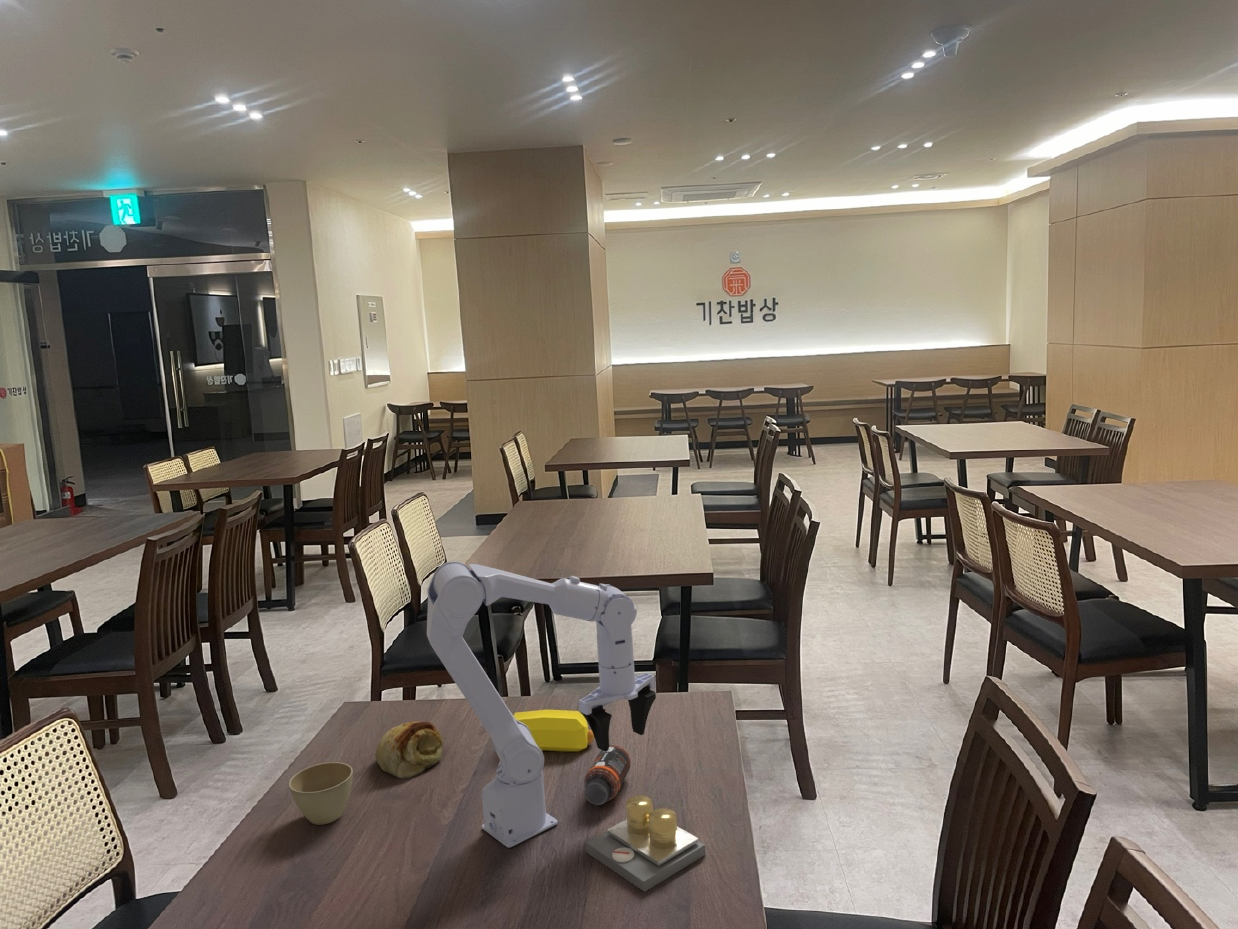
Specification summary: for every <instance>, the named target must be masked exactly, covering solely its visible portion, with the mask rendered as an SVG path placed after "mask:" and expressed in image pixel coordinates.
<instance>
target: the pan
mask: <svg viewBox="0 0 1238 929" xmlns="http://www.w3.org/2000/svg"><path fill="white" fill-rule="evenodd" d="M606 832H607V833H608V834H609V835H611V836H612V837H614V838H616V839H617V840H619V841H620V842H622V843H623V844H625V845H627V846H628V847H630V848H631V849H633V850H634V851H636V852H637V853H639V854H641V855H642V856H644V857H645V858H647V859H648V860H650V861H652V862H653V863H655V864H656V865H658V866H659V865H661V864H663V863H664V862H666V861H668V860H669V859H671V858H673V857H674V856H676V855H678V854H679V853H681V852H683V851H685V850H686V849H688V848H690V847H691V846H693V845H695V844H696V843H698V842H700V840H699V838H698V837H697V836H695V835H693V834H692V833H690V832H688V831H687V830H684V829H683V828H681V827H680V826H678V825H677V844H676V845H675V846H674V847H672V848H669V849H658V848H655V847H654V846H652V845H651V843H650V832H649V833H647V834H643V835H636V834H633V833H631V832H629V831H628V828H627V818H626V819H624V820H623V821H620V822H618V823H617V824H615V825H612V826H611V827H609V828H607V829H606Z"/></svg>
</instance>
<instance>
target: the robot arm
mask: <svg viewBox="0 0 1238 929" xmlns="http://www.w3.org/2000/svg"><path fill="white" fill-rule="evenodd" d="M468 566H469V567H470V568H469V567H468ZM468 566H467V565H466V564H465V563H464V562H460V561H455V560H453V561H452V560H451V561H447V562H444V563H442V564H441V565H439V566H438V568H437V569H436V570H435V571H434V572H433V576H432V578H431V579H430V582H429V585H428V587H427V591H426V592H427V614H426V616H427V617H426V637H427V639H428V641H429V642H428V643H429V644H430V646H431V647H432V649H433V651H434V652H435V654H436V656H437V657H438V658H439V660H440V661H441V663H442V664H443V666H444V667H445V669H446V671H447V672H448V674H449V676H450V677H451V678H452V680H453V682H454V683H455V684H456V686H457V688H458V689H459V691H460V692H461V693H462V695H463V697H464V698H465V700H466V701H467V703H468V704H469V706H470V708H471V709H472V711H473V712H474V714H475V716H476V717H477V718H478V720H479V721H480V723H481V725H482V726H483V728H484V729H485V730H486V732H487V733H488V735H489V737H490V739H491V740H492V746H493V747H492V748H493V749H494V752H495V753H496V754H497V757H498V758H499V762H498V765H497V768H496V771H495V772H496V773H495V774H496V775H495V776H494V778H493V779H492V780H491V781H490V782H488V783H487V784H485V785H484V786H483V787H482V789H481V803H482V804H481V805H482V806H481V807H482V816H483V824H482V825H481V829H483V830H484V831H485V832H487V833H488V834H489V836H492V837H493V838H494V839H496V840H497V841H498V842H499V843H501V844H502V845H503V846H505V847H506V848H509V849H510V848H512V847H515V846H516V845H518V844H520V843H522V842H525V841H527V840H528V839H530V838H533V837H534V836H536V835H538V834H540V833H542V832H544V831H547V830H548V829H550V828H552V827H554V826H556V825H557V824H559V822H558V820H557V819H556V818H555V817H554V816H552V815H550V814H549V813H548V812H547V809H546V798H545V795H546V794H545V784H544V783H545V782H544V771H543V768H544V765H545V755H544V753H543V751H541V749H540V748H539V747H538V746H537V744H536V742H535V741H534V739H533V737H532V735H531V733H530V730H529V728H528V727H527V726H526V725H525V724H524V723H522V722H520V721H518V720H517V719H515V717H514V716H513V715H514V714H513V712H511V710H510V709H509V707H508V705H506V703H505V701H504V700H503V698H502V696H501V695H500V693H499V691H497V689H496V688H495V686H494V684H493V682H492V681H491V679H490V678H489V676H488V675H487V673H486V671H485V670H484V668H483V666H482V665H481V663H480V662H479V660H478V659H477V657H476V656H475V655H474V653H473V651H472V649H471V648H470V646H469V645H468V643H467V642H466V640H465V639H464V637H463V636H464V634H465V631H466V627H467V626H468V624H469V622H470V621H471V619H472V618H473V617H474V615H475V614H476V613H477V612H478V611H479V609H480V607H481V606H482V604H484V605H485V606H486V607H488V606H490V605H492V604H493V603H495V602H496V601H498V600H499V599H501V598H507V599H514V600H520V601H524V602H531V603H539V604H544V605H548V606H549V608H550V609H551V611H552V613H553V614H555V615H558V616H563V617H566V618H572V619H578V620H582V621H587V622H596V623H595V624H596V646H597V660H598V661H597V662H598V677H599V686H598V687H597V688H595V689H594V690H593V691H591V692H590V693H589V694H588V695H586V696H585V697H583V698H580V699H578V708H579V710H578V711H579V712H580V713H581V714H582V715H583V716H584V717H585V719H586V720H587V724H588V727H590V730H591V731H592V732H593V735H594V740H595V743H596V746H597V747H596V748H597V749H599V750H600V751H601V750H602V751H604V752H606V751H608V750H609V746H610V733H609V732H610V724H611V721H612V720H611V719H612V714H611V713H608V712H607V711H606V709H605V708H604V706H607V705H609V704H612V703H614V702H618V701H623V700H627V701H628V706H629V710H630V718H631V719H630V722H631V728H632V732H633V733H635V734H637V735H640V736H643V735H645V731H646V725H647V721H648V716H649V714H650V711H651V708H652V706H653V704H654V702H655V700H656V698H657V697H656V696H657V695H656V691H654V690H652V689H653V688H655V687H656V678H655V677H656V676H655V675H653V674H651V673H649V672H645V673H642V674H639V675H635V661H634V660H635V658H634V657H635V656H634V640H633V631H632V628H633V627H632V624H633V623H634V621H635V620H636V617H637V612H638V610H637V608H635V605H634V602H633V601H632V599H631V598H630V597H629V596H628V595H626V594H625V593H624V592H622V590H620V589H619V588H617V587H615V586H613V585H611V584H605V583H599V584H598V585H597V584H592V583H587V582H582V581H581V578H579V577H578V576H575V575H570V576H569V578H564V577H561V578H559V579H557V580H556V581H554V582H551V583H550V582H547V581H544V580H540V579H536V578H532V577H528V576H524V575H522V574H521V575H520V574H516V573H515V572H514V573H513V572H510V571H506V570H502V569H498V568H494V567H491V566H490V567H489V566H487V565H482V564H477V563H468Z"/></svg>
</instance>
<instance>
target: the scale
mask: <svg viewBox="0 0 1238 929" xmlns="http://www.w3.org/2000/svg"><path fill="white" fill-rule="evenodd" d="M585 846H586V853H587V854H588V855H590V856H591V857H592V858H594V859H596V860H597V861H598V860H599V861H598V862H600V863H601V864H603V865H604V866H606V865H607V866H608V867H607V866H606V867H607V868H609V869H610V868H611V869H610V870H612V871H613V872H615V871H616V872H617V873H618V874H617V873H616V872H615V873H616V874H617V875H619V876H620V877H622V878H623V877H624V878H623V879H625V880H626V879H627V880H626V881H627V882H629V883H631V884H632V883H633V884H634V885H633V884H632V885H633V886H634V887H637V888H638V889H639V888H640V889H639V890H641V889H642V890H643V892H644V893H645V891H646V892H647V891H649V890H651V889H652V888H654V887H655V886H657V885H659V884H660V883H662V882H664V881H666V880H667V879H668V878H670V877H672V876H673V875H674V874H676V873H678V872H679V871H681V870H683V869H685V868H686V867H688V866H689V865H691V864H693V863H695V862H696V861H698V860H699V859H702V858H703V857H704V856H706V844H705V843H702V842H701V841H699V842H698V843H696V844H695V845H693V846H691V847H690V848H688V849H686V850H685V851H683V852H681V853H679V854H678V855H676V856H674V857H673V858H671V859H669V860H668V861H666V862H664V863H663V864H661V865H659V866H658V865H656V864H655V863H653V862H652V861H650V860H648V859H647V858H645V857H644V856H642V855H641V854H639V853H637V852H636V851H634V850H633V849H631V848H630V847H628V846H627V845H625V844H623V843H622V842H620V841H619V840H617V839H616V838H614V837H612V836H611V835H609V834H608V833H607V831H605V832H603V833H601V834H599V835H597V836H595V837H594V838H592V839H590V840H588V841H586V842H585ZM648 889H649V890H648ZM642 890H641V891H642Z"/></svg>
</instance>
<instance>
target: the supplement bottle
mask: <svg viewBox="0 0 1238 929" xmlns="http://www.w3.org/2000/svg"><path fill="white" fill-rule="evenodd" d="M631 764H632V763H631V758H630V755H629V754H628V752H627V751H626V750H625V749H624V748H623V747H620V746H618V745H615V744H613V745H611V744H609V750H608V751H606V752H604V751H602V750H601V749H600V751H599V752H598V754H597V756H596V757H595V760H593V763H592V764H591V765H590V768H589V769H588V771H587V773H586V775H584V776H585V777H584V781H583V782H584V783H583V785H584V796H585V797H586V799H587V801H589V803H590V804H592V805H596V806H600V805H601V806H602V805H604V804H605V803H606V802H609V801H611V800H613V799H614V798H615V797H616V796H617V794H618V793H619V791H620V789H621V787H622V785H623V784H624V781H625V780H626V777H627V775H628V774H629V772H630V768H631Z"/></svg>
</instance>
